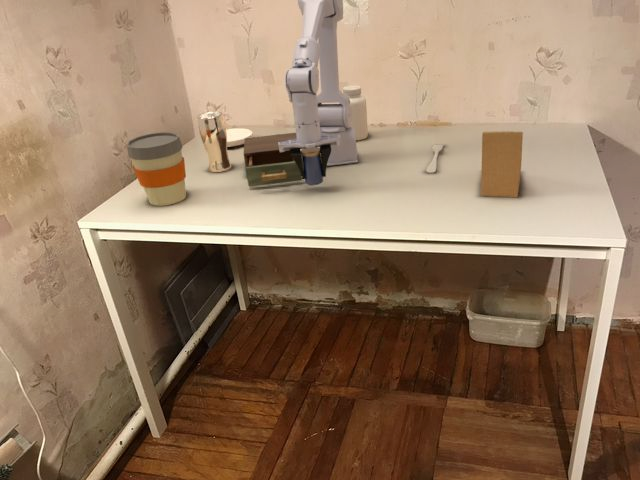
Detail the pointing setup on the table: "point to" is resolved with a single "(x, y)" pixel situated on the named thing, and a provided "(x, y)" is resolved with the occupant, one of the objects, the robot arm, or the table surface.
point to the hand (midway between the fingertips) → (313, 176)
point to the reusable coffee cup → (159, 166)
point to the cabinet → (264, 145)
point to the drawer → (272, 169)
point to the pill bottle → (357, 111)
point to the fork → (434, 159)
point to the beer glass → (214, 140)
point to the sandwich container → (501, 163)
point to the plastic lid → (237, 136)
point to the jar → (312, 165)
